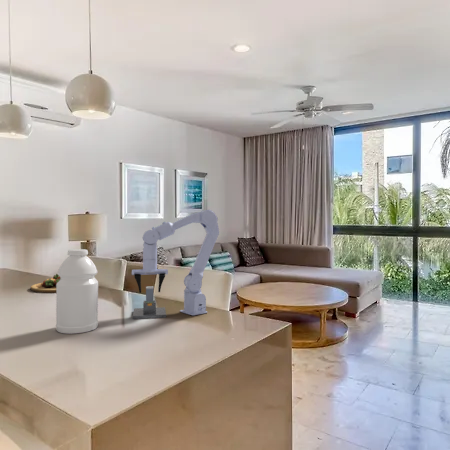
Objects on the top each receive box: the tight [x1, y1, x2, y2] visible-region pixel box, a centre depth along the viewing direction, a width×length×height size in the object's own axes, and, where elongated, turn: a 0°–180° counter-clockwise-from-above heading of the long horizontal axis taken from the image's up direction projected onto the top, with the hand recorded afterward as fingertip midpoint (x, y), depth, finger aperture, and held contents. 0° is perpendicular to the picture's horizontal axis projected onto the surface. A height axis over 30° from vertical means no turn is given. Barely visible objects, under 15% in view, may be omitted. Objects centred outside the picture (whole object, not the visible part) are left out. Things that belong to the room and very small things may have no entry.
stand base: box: [132, 299, 167, 320], centre depth 152 cm, size 13×13×5 cm
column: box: [145, 285, 154, 303], centre depth 152 cm, size 3×3×7 cm
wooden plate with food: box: [30, 273, 61, 294], centre depth 212 cm, size 32×32×8 cm
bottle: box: [55, 248, 99, 335], centre depth 130 cm, size 14×14×28 cm
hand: (149, 292), depth 152 cm, fingers open, 7 cm apart
